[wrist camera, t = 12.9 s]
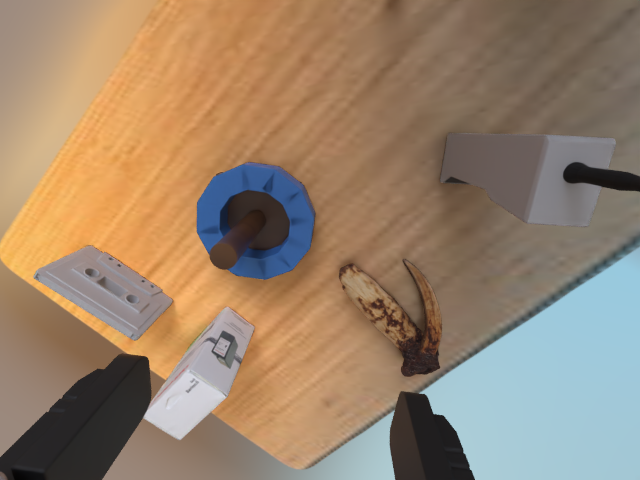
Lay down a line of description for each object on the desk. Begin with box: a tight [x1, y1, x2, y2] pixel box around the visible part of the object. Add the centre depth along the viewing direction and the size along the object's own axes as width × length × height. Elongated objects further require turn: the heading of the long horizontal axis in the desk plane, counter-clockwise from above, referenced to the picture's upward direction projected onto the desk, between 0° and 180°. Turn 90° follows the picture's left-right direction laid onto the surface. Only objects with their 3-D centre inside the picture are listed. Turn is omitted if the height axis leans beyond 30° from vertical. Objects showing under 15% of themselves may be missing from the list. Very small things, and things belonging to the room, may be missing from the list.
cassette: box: [34, 246, 173, 340], centre depth 36 cm, size 12×2×8 cm, turn 51°
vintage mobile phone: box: [440, 133, 640, 227], centre depth 22 cm, size 4×5×25 cm
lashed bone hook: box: [339, 259, 442, 377], centre depth 37 cm, size 9×5×18 cm
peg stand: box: [210, 172, 301, 269], centre depth 31 cm, size 9×9×12 cm
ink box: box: [143, 307, 255, 440], centre depth 37 cm, size 9×5×12 cm, turn 138°
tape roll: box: [197, 162, 315, 280], centre depth 34 cm, size 12×12×3 cm
